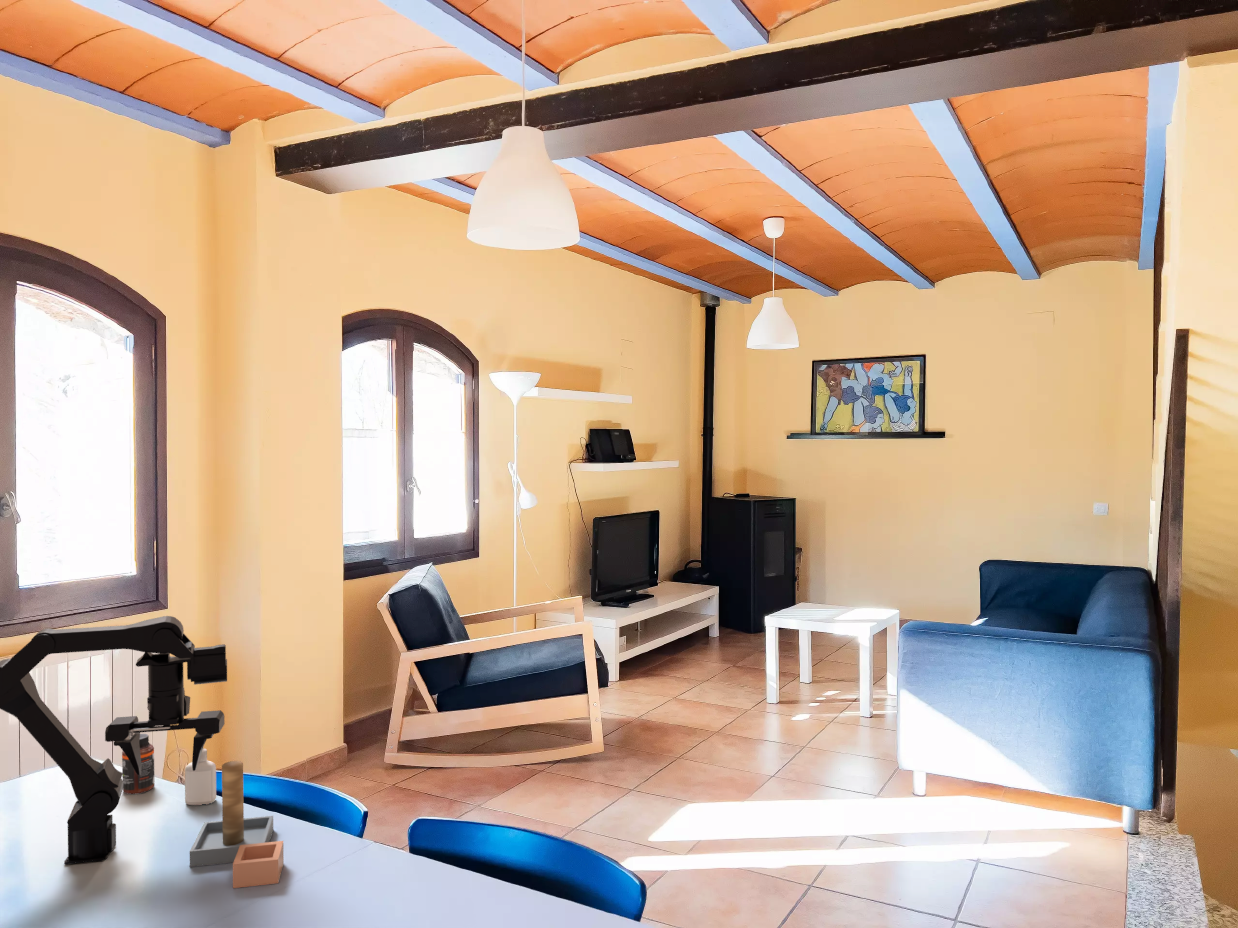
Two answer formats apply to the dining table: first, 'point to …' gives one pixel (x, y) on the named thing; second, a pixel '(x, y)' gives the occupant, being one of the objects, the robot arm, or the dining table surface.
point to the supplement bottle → (147, 776)
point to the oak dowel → (232, 803)
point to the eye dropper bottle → (200, 782)
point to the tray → (215, 852)
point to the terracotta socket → (258, 864)
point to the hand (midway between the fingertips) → (167, 771)
